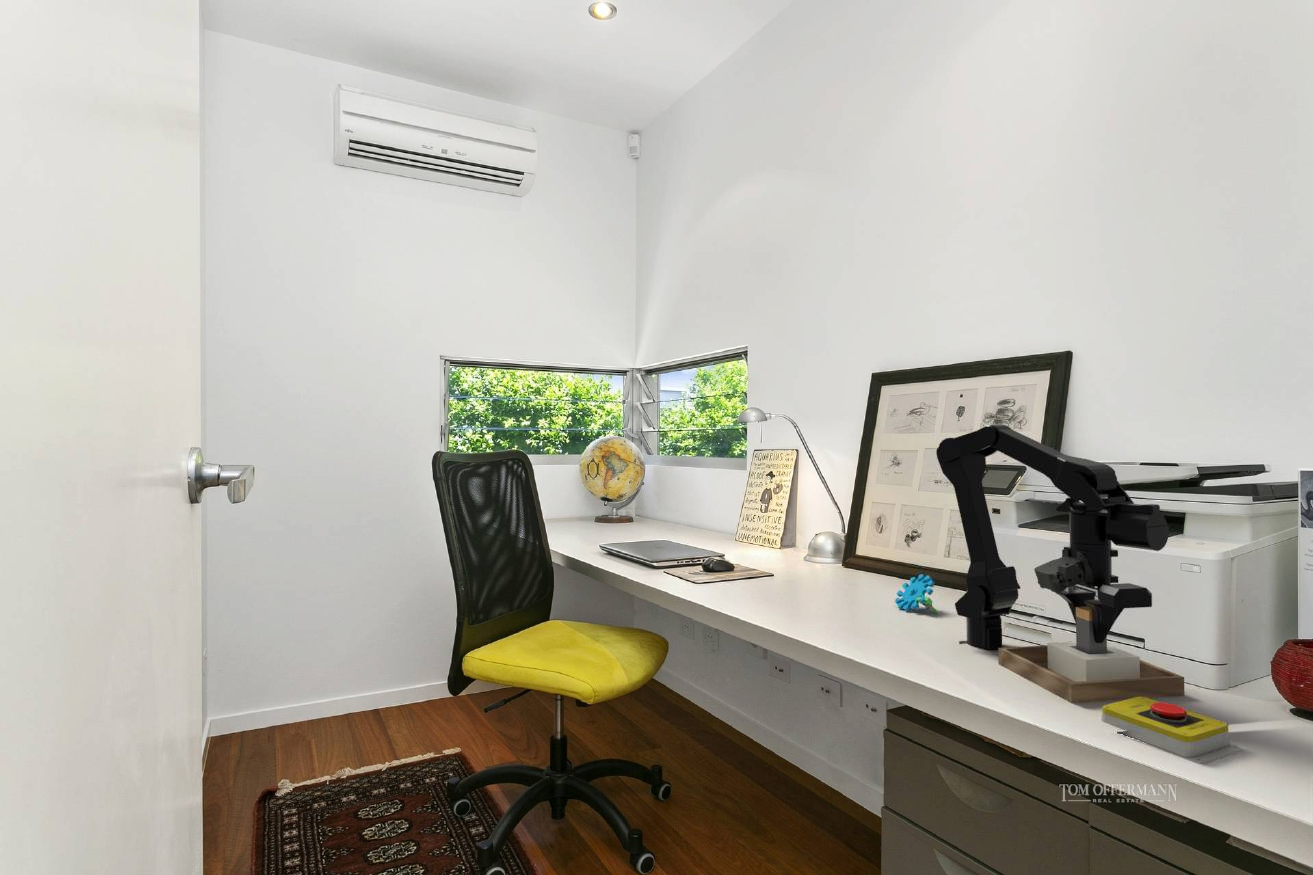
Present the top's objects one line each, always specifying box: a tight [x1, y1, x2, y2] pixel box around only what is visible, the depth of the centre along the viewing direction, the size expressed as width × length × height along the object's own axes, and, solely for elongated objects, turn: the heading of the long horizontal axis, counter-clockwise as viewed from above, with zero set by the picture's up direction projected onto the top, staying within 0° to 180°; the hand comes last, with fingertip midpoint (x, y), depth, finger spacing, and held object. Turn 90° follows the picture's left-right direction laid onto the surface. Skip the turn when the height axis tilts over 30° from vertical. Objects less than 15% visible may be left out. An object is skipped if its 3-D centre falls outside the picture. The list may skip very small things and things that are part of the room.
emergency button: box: [1101, 697, 1243, 764], centre depth 96 cm, size 9×4×15 cm
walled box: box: [997, 644, 1186, 704], centre depth 115 cm, size 18×18×4 cm
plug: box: [1075, 606, 1108, 655], centre depth 117 cm, size 3×3×8 cm
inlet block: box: [1046, 641, 1141, 682], centre depth 117 cm, size 9×9×4 cm
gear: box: [894, 573, 938, 614], centre depth 165 cm, size 11×6×10 cm
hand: (1091, 639), depth 117 cm, fingers closed on plug, 3 cm apart
